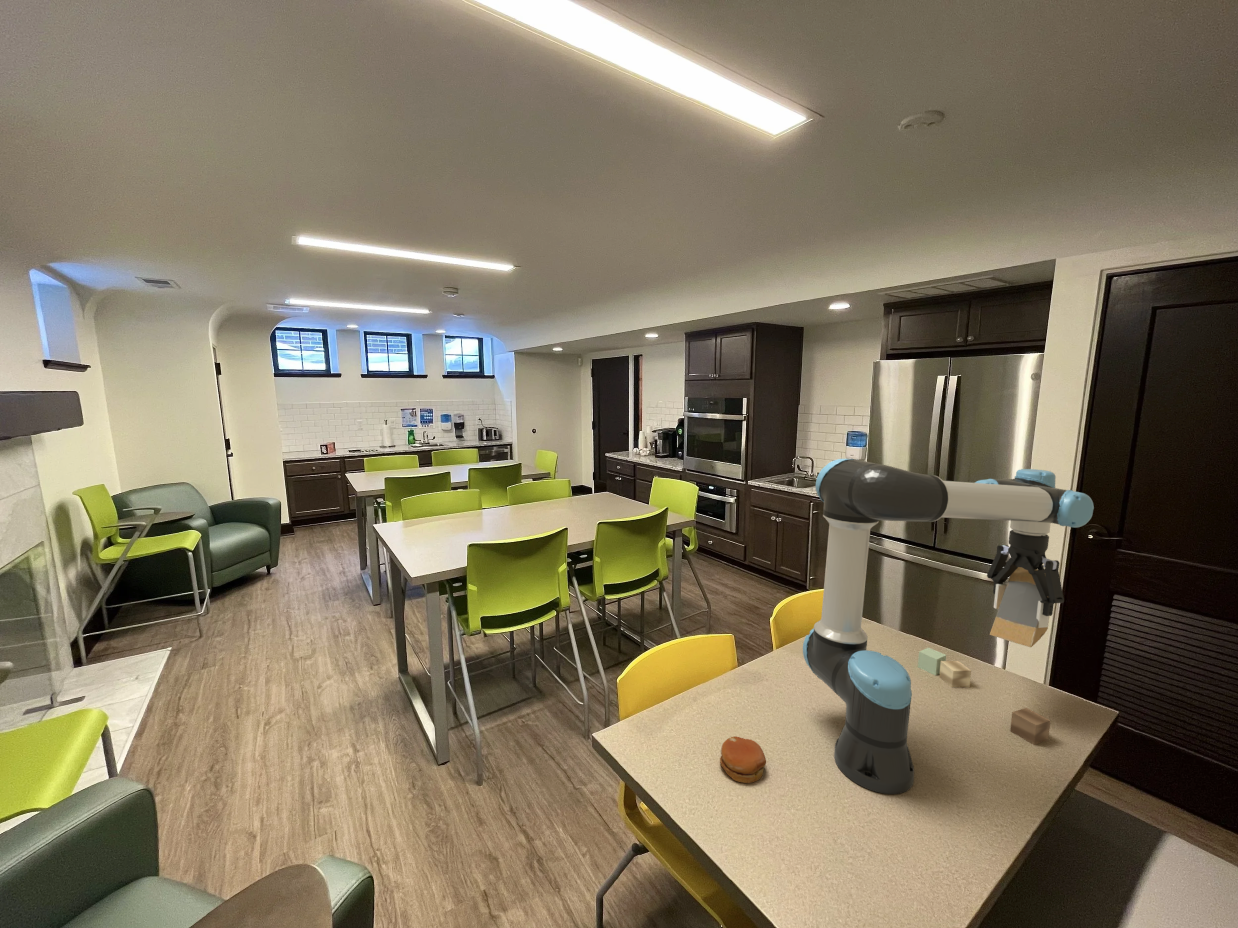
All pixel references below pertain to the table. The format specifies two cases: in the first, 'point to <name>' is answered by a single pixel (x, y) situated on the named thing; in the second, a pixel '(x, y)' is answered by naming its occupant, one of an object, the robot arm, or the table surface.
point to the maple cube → (955, 674)
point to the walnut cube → (1030, 726)
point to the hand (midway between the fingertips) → (1019, 616)
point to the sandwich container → (1019, 611)
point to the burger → (742, 759)
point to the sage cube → (930, 660)
